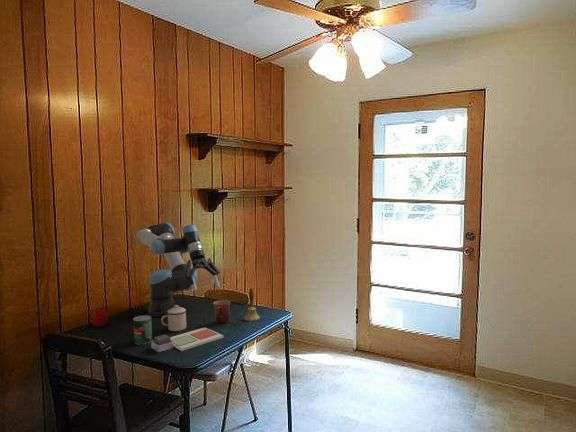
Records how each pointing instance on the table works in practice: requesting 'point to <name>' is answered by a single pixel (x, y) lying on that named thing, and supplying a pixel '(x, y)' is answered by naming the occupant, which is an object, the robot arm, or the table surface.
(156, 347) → the button base
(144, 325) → the canned tomato
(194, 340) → the picture board
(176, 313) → the teacup with lid
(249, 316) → the hand bell
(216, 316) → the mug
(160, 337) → the button
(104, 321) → the red clay folk toy
